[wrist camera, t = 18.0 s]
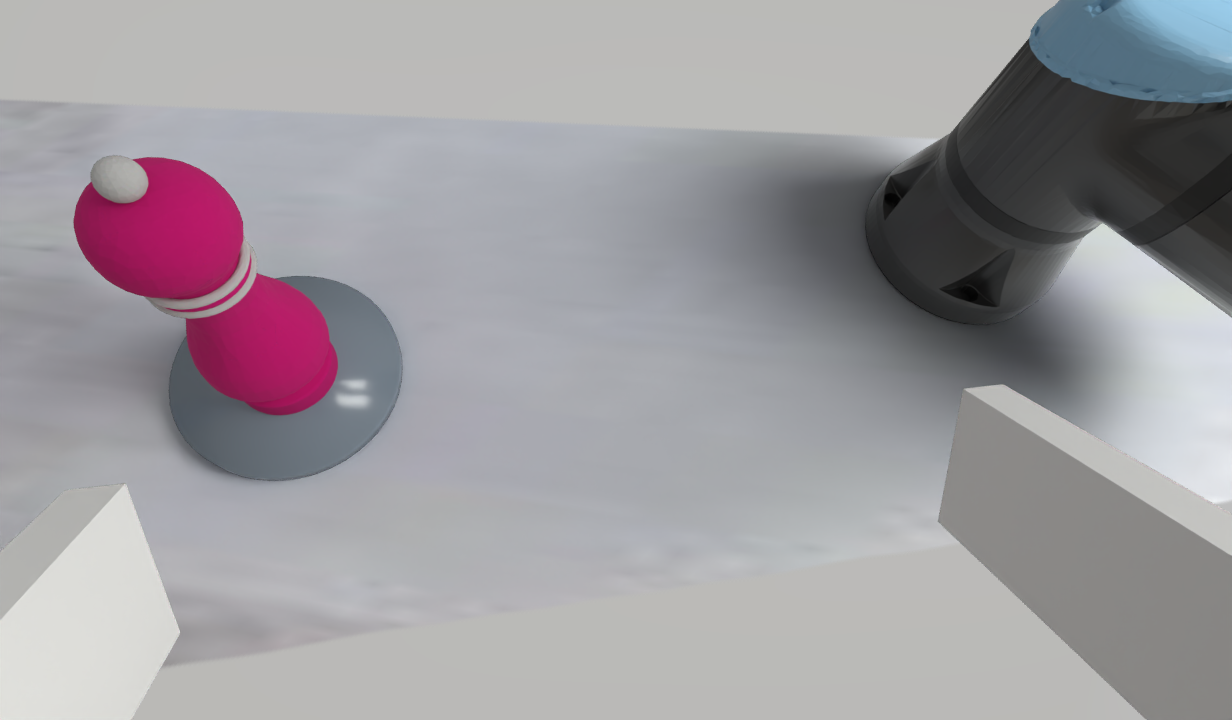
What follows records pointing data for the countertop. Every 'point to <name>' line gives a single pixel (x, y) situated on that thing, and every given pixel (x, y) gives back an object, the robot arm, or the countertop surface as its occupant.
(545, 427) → the countertop surface
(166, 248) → the pepper mill
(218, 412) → the saucer
